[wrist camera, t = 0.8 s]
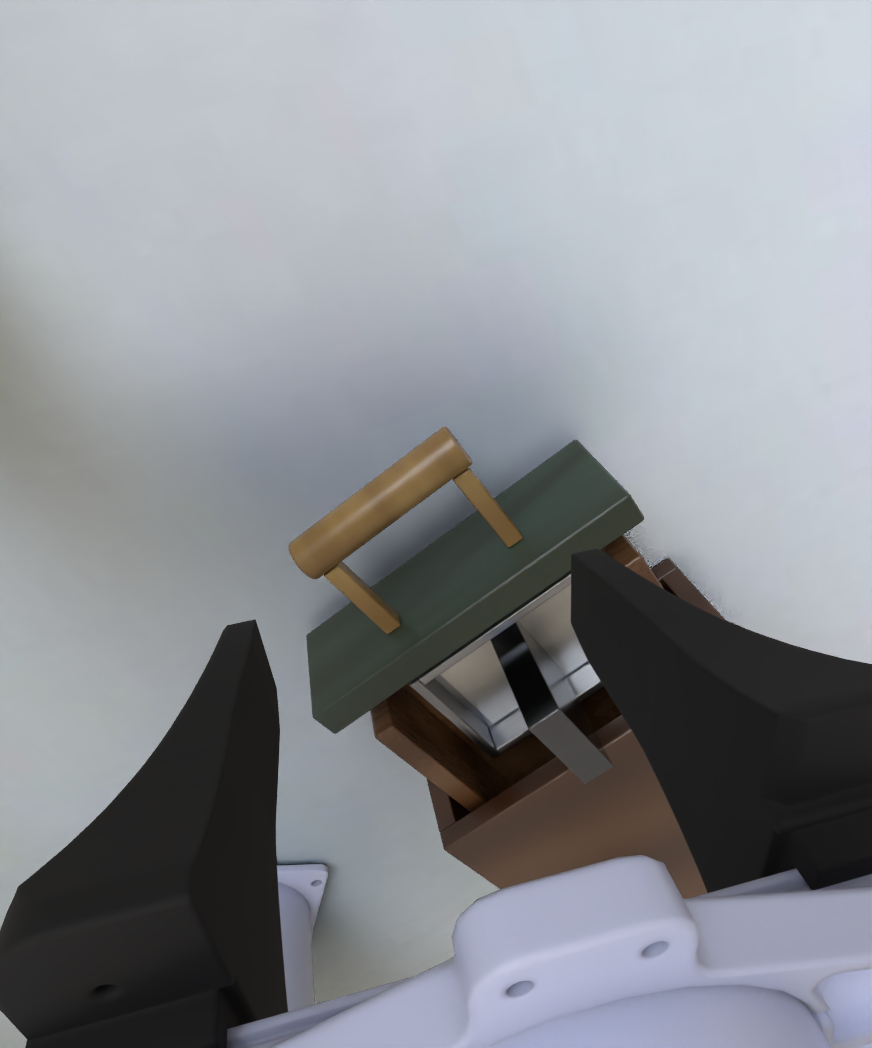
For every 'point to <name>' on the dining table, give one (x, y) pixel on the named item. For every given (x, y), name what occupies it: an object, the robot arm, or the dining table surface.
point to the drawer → (452, 599)
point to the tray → (523, 684)
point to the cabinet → (576, 808)
